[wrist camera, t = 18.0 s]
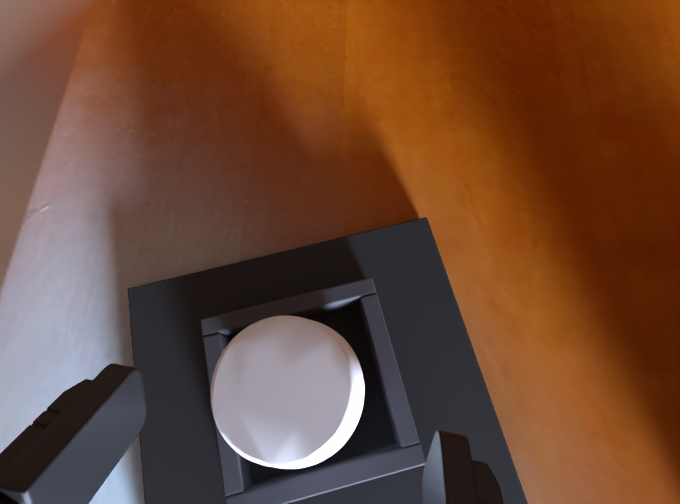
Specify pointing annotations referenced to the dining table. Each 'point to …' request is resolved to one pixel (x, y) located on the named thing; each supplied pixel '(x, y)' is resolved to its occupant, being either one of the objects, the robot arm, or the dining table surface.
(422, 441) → the pad
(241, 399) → the pill bottle
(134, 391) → the robot arm
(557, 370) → the dining table surface
